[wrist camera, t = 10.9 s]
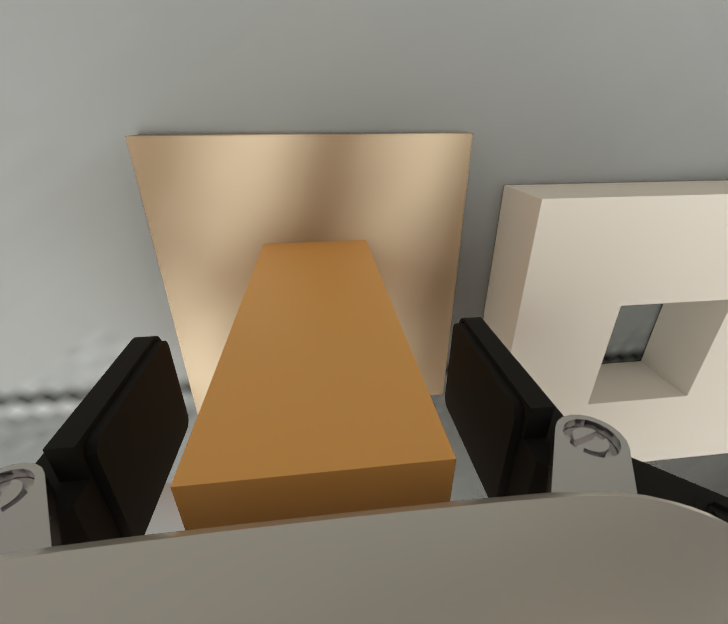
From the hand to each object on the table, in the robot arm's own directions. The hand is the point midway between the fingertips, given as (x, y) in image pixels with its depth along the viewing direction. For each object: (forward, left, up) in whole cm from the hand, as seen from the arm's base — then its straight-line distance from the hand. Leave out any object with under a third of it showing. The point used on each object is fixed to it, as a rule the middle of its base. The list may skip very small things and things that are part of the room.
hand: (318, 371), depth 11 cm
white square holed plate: (-15, +3, -7) cm, 17 cm away
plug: (0, 0, -6) cm, 6 cm away
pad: (0, 0, -7) cm, 7 cm away
